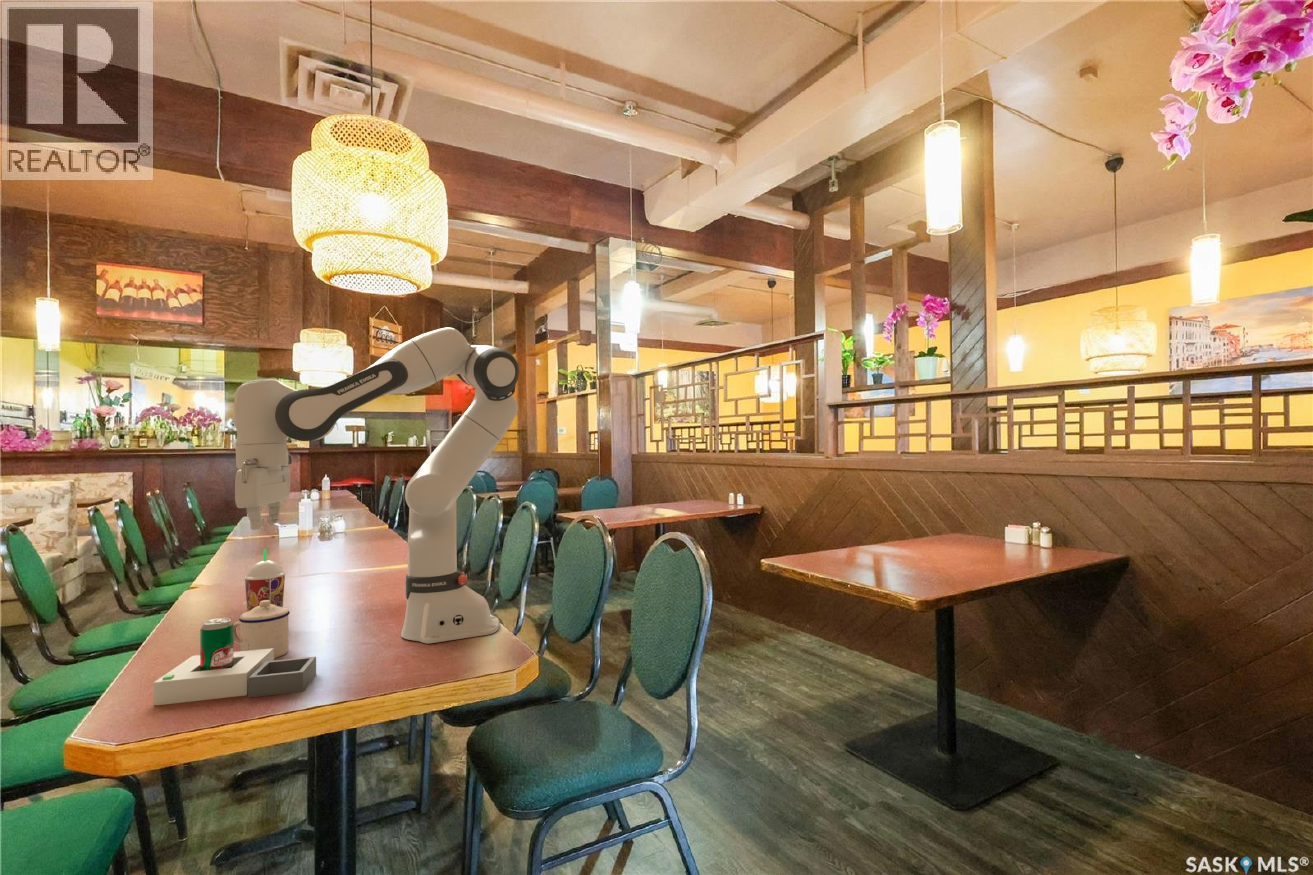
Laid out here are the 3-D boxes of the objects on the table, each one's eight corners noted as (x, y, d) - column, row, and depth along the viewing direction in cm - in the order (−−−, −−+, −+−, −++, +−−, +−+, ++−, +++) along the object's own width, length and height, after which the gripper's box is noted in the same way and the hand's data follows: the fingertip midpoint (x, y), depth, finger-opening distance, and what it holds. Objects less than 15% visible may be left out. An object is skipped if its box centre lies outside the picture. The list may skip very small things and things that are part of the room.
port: (273, 668, 120) (273, 646, 120) (246, 695, 106) (246, 670, 106) (192, 676, 116) (192, 653, 116) (153, 705, 102) (153, 680, 103)
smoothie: (291, 628, 147) (291, 547, 147) (254, 638, 140) (254, 553, 140) (275, 624, 151) (274, 545, 152) (238, 632, 144) (238, 550, 145)
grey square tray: (316, 674, 116) (316, 656, 116) (302, 691, 108) (302, 672, 108) (265, 679, 114) (265, 661, 114) (248, 697, 105) (248, 677, 105)
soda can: (213, 692, 108) (213, 625, 108) (193, 689, 110) (193, 623, 110) (240, 681, 113) (240, 618, 113) (220, 678, 114) (220, 616, 115)
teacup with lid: (298, 648, 132) (298, 595, 132) (271, 662, 123) (271, 606, 123) (246, 648, 132) (246, 596, 133) (214, 663, 123) (214, 606, 124)
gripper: (261, 458, 112) (265, 531, 112) (294, 457, 132) (298, 519, 132) (222, 460, 110) (226, 534, 110) (262, 459, 130) (265, 522, 130)
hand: (265, 526), depth 121 cm, fingers open, 8 cm apart
